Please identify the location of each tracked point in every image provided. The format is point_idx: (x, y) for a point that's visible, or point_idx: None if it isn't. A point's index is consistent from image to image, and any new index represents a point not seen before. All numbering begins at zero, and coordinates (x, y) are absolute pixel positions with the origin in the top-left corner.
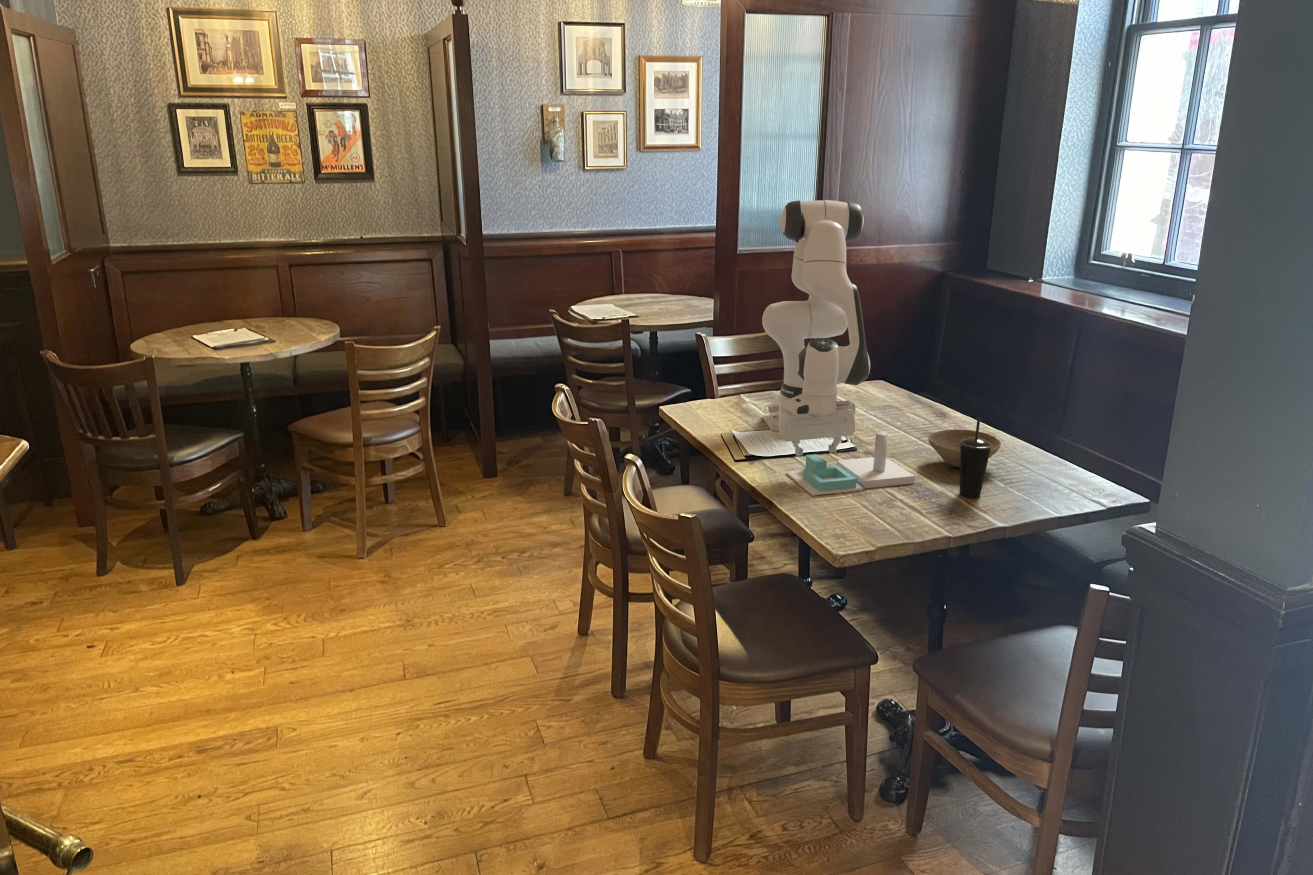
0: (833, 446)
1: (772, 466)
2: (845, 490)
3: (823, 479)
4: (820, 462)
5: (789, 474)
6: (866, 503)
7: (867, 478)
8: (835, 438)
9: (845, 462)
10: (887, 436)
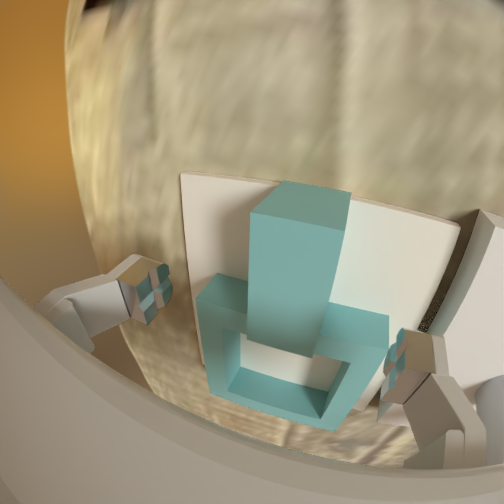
0: (401, 400)
1: (166, 59)
2: None
3: None
4: (275, 346)
5: (183, 206)
6: (305, 431)
7: (400, 415)
8: (413, 462)
9: (502, 273)
10: None
